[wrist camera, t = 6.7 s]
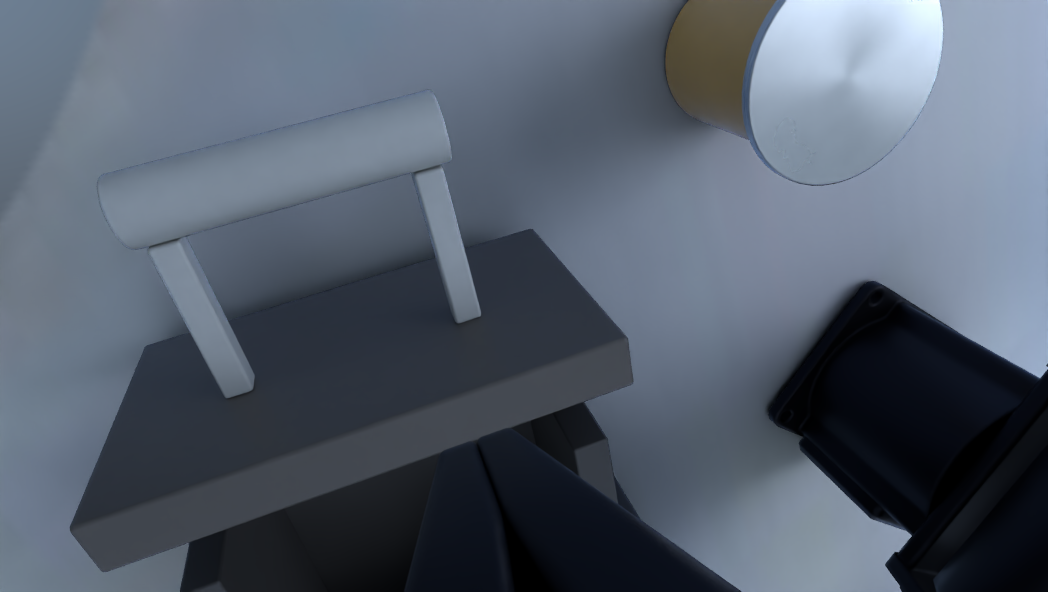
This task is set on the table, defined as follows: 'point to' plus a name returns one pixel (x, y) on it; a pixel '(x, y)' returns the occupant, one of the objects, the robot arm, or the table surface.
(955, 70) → the table surface
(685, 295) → the table surface
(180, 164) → the drawer
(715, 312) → the table surface
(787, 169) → the coffee pod
